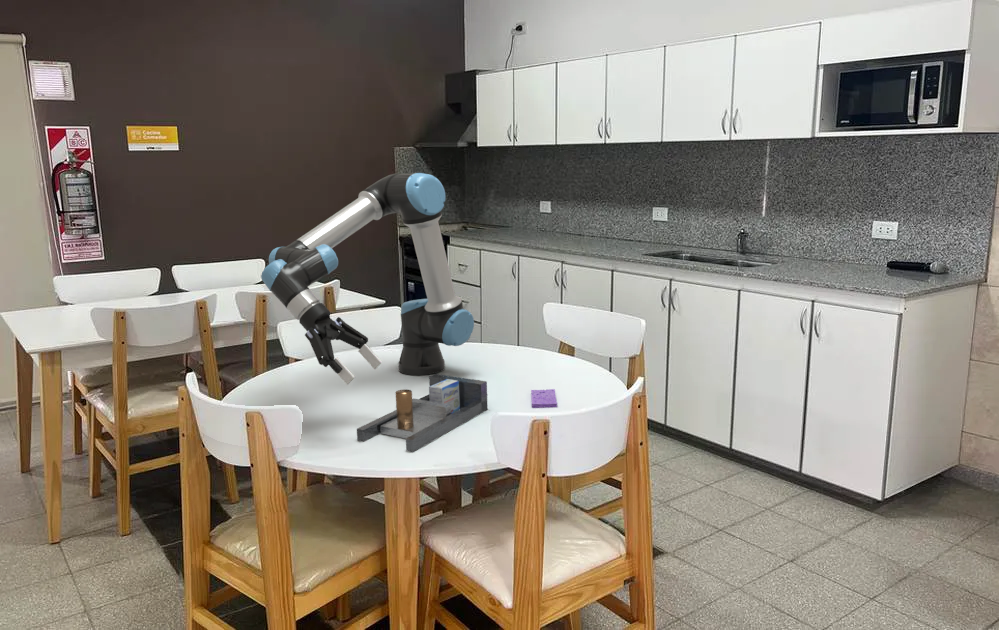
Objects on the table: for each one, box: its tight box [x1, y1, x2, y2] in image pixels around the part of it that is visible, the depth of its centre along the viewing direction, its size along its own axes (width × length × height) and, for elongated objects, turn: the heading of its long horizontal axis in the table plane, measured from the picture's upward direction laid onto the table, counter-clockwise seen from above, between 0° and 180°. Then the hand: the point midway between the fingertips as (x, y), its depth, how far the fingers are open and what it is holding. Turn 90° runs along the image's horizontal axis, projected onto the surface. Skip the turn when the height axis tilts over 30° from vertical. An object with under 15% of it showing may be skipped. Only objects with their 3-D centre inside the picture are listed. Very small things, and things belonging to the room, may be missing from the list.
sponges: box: [530, 388, 558, 409], centre depth 213 cm, size 7×13×2 cm, turn 179°
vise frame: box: [356, 373, 489, 453], centre depth 195 cm, size 17×34×8 cm, turn 150°
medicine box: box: [428, 379, 460, 414], centre depth 203 cm, size 8×4×9 cm, turn 148°
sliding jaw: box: [380, 388, 451, 439], centre depth 192 cm, size 12×14×11 cm
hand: (365, 373), depth 190 cm, fingers open, 13 cm apart
